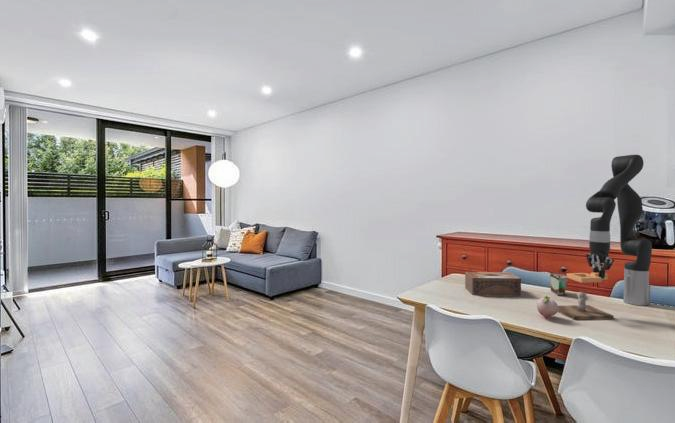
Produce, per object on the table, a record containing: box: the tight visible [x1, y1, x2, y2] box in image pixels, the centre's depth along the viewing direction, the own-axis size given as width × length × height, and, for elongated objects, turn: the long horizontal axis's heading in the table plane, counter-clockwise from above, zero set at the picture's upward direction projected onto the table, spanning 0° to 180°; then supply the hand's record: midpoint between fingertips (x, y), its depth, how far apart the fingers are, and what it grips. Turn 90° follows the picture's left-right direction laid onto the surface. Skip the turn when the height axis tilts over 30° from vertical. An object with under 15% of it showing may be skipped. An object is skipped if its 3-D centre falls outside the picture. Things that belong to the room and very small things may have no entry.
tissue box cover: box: [464, 271, 522, 297], centre depth 189 cm, size 26×14×10 cm, turn 84°
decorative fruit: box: [536, 295, 559, 319], centre depth 148 cm, size 9×8×10 cm
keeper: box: [557, 291, 614, 321], centre depth 152 cm, size 18×14×10 cm
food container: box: [549, 273, 569, 297], centre depth 184 cm, size 12×6×10 cm, turn 168°
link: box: [566, 271, 609, 284], centre depth 152 cm, size 15×9×3 cm, turn 92°
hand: (598, 277), depth 152 cm, fingers closed on link, 2 cm apart
